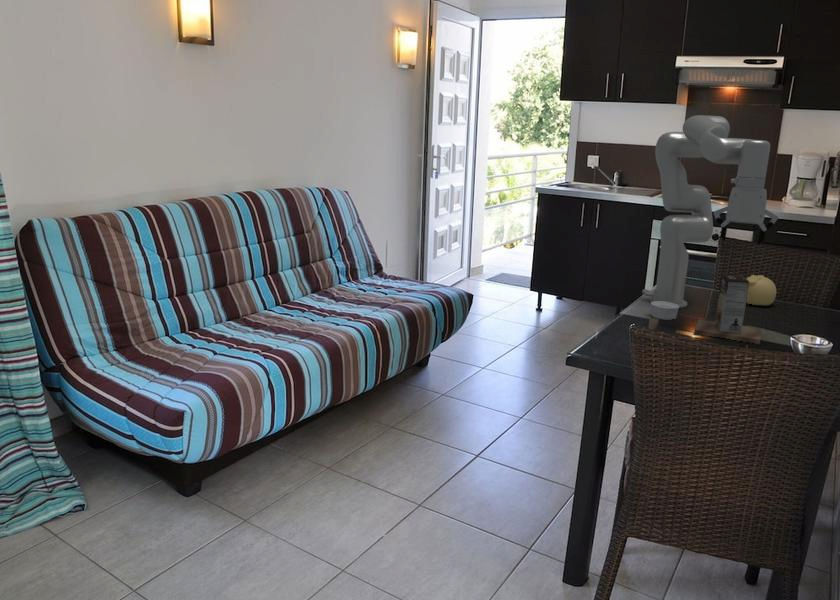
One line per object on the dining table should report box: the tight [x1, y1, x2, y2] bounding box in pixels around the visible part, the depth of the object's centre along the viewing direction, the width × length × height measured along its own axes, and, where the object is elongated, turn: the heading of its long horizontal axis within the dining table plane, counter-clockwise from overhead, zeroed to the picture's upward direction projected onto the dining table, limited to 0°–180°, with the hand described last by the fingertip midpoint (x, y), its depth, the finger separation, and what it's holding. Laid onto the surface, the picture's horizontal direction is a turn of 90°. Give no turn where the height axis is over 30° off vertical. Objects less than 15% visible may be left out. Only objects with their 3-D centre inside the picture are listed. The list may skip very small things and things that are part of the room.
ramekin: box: [650, 301, 680, 321], centre depth 228 cm, size 9×9×4 cm
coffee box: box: [714, 274, 749, 334], centre depth 210 cm, size 9×6×16 cm
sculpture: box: [745, 274, 777, 306], centre depth 250 cm, size 12×12×11 cm
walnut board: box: [693, 319, 762, 346], centre depth 212 cm, size 18×14×2 cm
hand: (741, 242), depth 205 cm, fingers open, 9 cm apart
